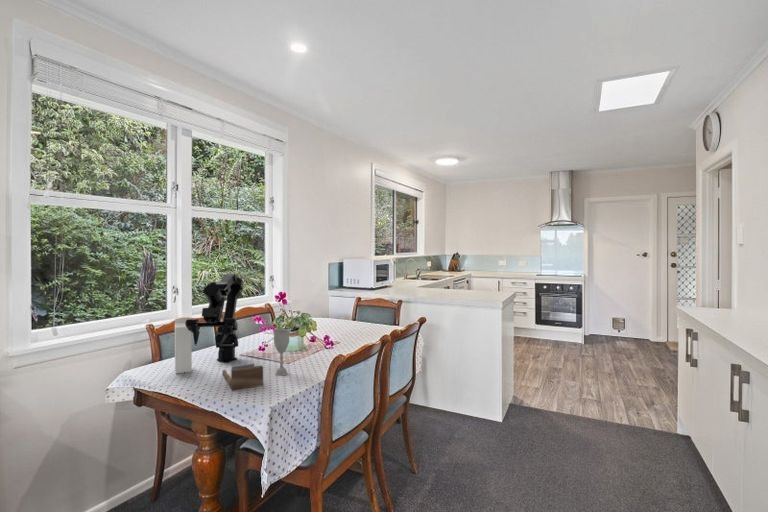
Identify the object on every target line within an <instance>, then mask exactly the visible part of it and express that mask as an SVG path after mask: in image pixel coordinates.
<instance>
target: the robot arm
mask: <svg viewBox="0 0 768 512" xmlns="http://www.w3.org/2000/svg"><path fill="white" fill-rule="evenodd" d="M237 275H238V274H236V273H225V274H224V276H222V278H220V280H219V281H210V283H209V284H207V285H206V286H205V287H204V288H203V294H204V296H205V298H206V301H207V302H209V303H208V307H202V309H201V317H203V318H202V319H203V321H199V319H198V318H191V319H187V320H186V323H185V325H186V327H187V328H188V330H189V331H191V334H193V336H192V337H193V343H194V345H195V346H196V345H197V344H198V341H199V336H200V333H201V332H200V329H201V328H205V327H206V328H208V327H212V328H215V327H217V333H216V335H215V339H214V340H215V348H216V349H218V352H217V353H218V356H217V357H218V358H217V359H216V361H218V362H223V363H228V362H231V361H235V360H238V357H236V348H237V347H239V339H238V336H237V334H236V331H238V325H239V324H238V321H237V319H236V317H235V316H236V308H237V302H238V299H239V298H240V297H241V295H242V294H243V293H242V292H243V290H244V288H245V285H244V282H243V279H242V278H240V277H238V276H237ZM224 297H227V298H226V299H225V298H224ZM225 301H226V303H225ZM224 306H225V310H224ZM223 311H224V313H223ZM223 314H224V315H223ZM222 317H223V320H222ZM221 320H222V321H221Z"/></svg>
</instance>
